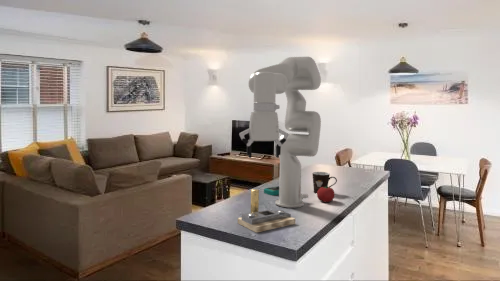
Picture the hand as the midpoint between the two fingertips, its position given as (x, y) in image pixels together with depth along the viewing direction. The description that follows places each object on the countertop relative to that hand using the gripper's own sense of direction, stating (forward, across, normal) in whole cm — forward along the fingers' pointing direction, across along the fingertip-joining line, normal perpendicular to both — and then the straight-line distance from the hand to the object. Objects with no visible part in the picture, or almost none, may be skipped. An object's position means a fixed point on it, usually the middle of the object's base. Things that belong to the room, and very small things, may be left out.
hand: (263, 157), depth 131 cm
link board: (+26, -2, -6) cm, 27 cm away
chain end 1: (+24, 0, -5) cm, 24 cm away
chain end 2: (+24, -5, -7) cm, 25 cm away
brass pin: (+26, +1, -18) cm, 32 cm away
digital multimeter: (+27, -16, -54) cm, 63 cm away
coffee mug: (+27, -38, -52) cm, 69 cm away
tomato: (+27, -35, -36) cm, 57 cm away
